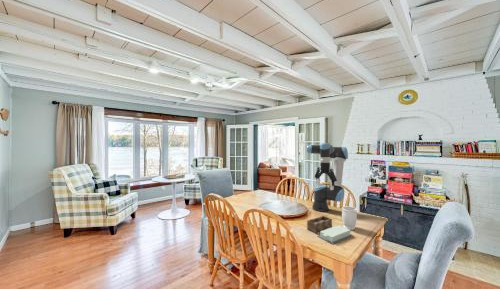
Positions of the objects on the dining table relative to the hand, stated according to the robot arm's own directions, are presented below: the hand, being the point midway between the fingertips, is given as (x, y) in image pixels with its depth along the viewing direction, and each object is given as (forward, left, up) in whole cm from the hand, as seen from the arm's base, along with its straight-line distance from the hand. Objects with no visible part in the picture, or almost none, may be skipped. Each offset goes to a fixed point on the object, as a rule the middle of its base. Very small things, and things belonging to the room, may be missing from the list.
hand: (325, 188), depth 167 cm
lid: (+13, +20, -28) cm, 37 cm away
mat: (+13, +20, -29) cm, 37 cm away
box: (+13, +6, -29) cm, 32 cm away
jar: (-8, +16, -29) cm, 34 cm away
